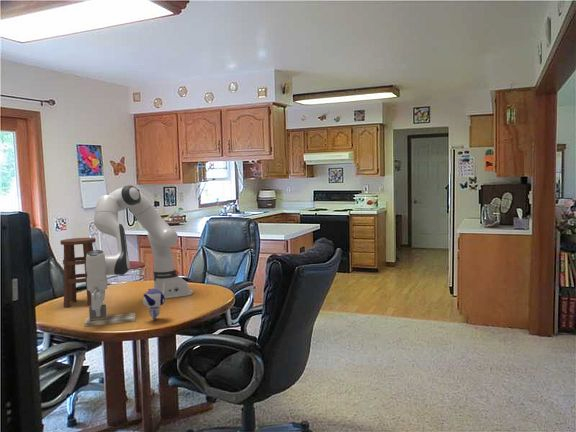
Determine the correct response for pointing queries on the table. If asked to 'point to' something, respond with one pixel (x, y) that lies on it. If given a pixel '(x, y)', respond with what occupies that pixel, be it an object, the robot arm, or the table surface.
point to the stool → (70, 268)
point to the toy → (153, 301)
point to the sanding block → (102, 311)
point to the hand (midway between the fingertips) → (99, 314)
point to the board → (111, 319)
